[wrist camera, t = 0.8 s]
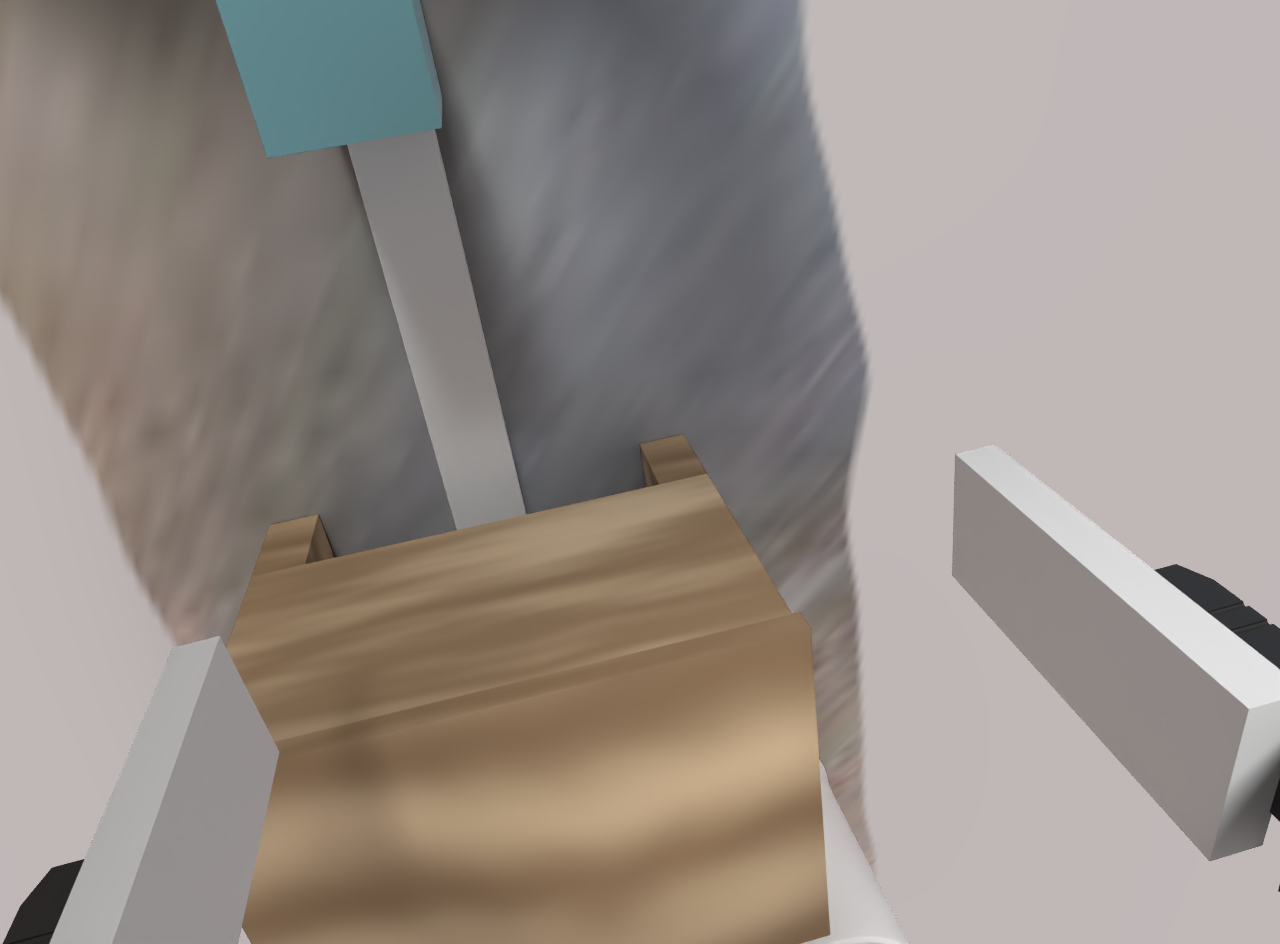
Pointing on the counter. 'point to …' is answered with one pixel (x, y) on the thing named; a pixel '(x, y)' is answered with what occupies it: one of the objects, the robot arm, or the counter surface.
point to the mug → (852, 885)
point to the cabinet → (537, 731)
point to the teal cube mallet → (390, 205)
